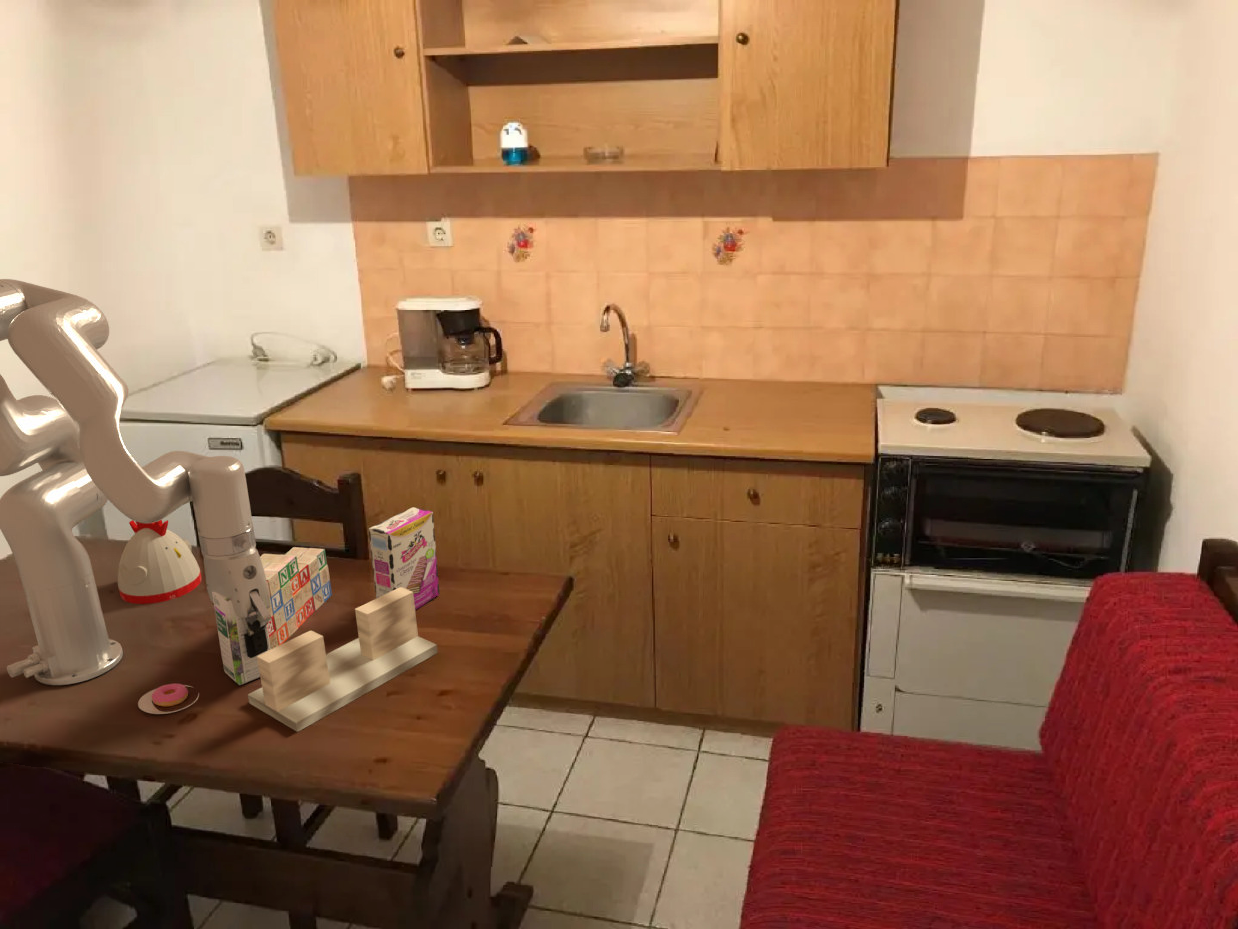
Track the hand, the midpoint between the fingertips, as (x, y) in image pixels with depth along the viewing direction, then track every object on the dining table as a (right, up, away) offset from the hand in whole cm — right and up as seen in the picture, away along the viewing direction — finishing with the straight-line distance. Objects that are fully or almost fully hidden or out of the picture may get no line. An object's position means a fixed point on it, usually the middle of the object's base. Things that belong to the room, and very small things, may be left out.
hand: (245, 645), depth 151 cm
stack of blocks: (+1, +1, +17) cm, 17 cm away
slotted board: (+16, -5, 0) cm, 16 cm away
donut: (-10, -8, -6) cm, 14 cm away
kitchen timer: (-27, +5, +31) cm, 42 cm away
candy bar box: (+21, +3, +21) cm, 30 cm away
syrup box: (0, -5, +2) cm, 5 cm away
